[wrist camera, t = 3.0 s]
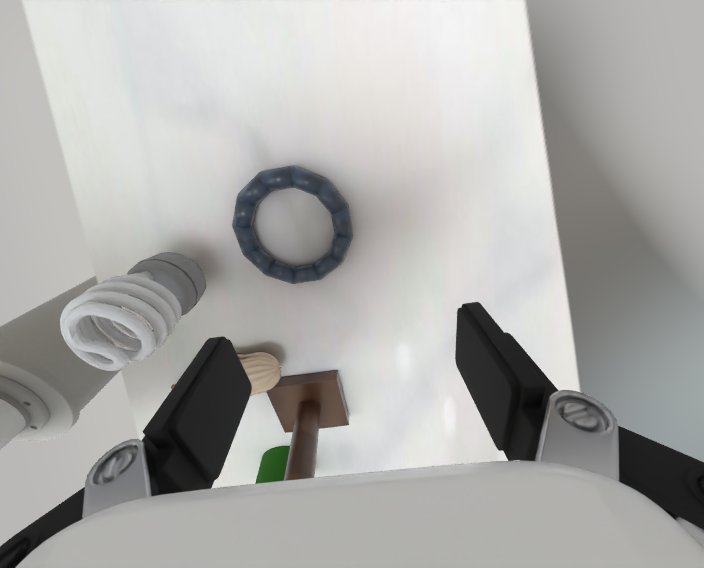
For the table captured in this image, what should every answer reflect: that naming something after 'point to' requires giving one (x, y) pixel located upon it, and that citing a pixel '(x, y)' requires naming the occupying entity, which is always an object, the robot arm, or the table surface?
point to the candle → (273, 465)
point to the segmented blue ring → (304, 182)
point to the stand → (307, 415)
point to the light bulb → (144, 298)
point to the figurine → (260, 371)
